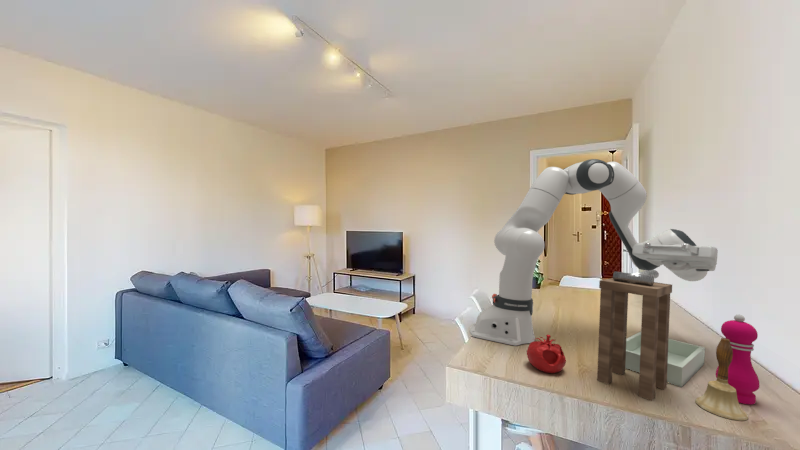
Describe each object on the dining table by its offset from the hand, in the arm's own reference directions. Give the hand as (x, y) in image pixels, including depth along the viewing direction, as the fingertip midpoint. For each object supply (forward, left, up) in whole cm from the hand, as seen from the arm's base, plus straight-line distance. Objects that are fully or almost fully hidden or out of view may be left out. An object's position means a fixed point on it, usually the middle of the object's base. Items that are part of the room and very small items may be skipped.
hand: (664, 245), depth 95 cm
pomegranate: (-33, -18, -35) cm, 52 cm away
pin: (-10, -15, -9) cm, 20 cm away
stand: (-13, -19, -35) cm, 42 cm away
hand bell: (+2, -25, -35) cm, 44 cm away
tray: (-1, -2, -35) cm, 35 cm away
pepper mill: (+9, -17, -35) cm, 40 cm away
